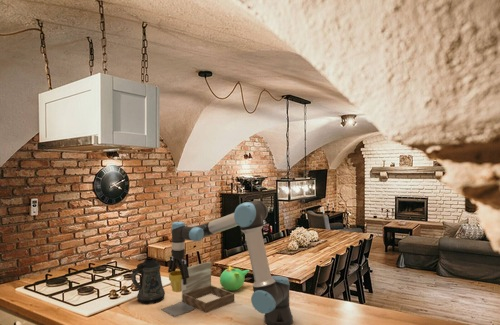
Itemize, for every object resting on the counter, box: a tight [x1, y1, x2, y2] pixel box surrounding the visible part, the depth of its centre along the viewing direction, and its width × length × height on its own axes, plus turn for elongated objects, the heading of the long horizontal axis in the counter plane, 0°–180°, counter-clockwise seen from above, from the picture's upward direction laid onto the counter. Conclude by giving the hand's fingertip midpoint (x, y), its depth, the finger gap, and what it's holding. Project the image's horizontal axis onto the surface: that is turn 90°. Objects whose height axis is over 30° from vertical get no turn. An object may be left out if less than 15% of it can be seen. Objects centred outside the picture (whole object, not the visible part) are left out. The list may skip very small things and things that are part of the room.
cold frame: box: [181, 261, 235, 314], centre depth 208 cm, size 23×22×20 cm
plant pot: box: [168, 269, 182, 293], centre depth 197 cm, size 10×10×10 cm
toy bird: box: [219, 266, 250, 291], centre depth 229 cm, size 18×17×15 cm
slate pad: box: [160, 301, 197, 318], centre depth 197 cm, size 14×14×1 cm
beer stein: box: [130, 257, 166, 305], centre depth 212 cm, size 16×19×25 cm
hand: (178, 287), depth 197 cm, fingers closed on plant pot, 10 cm apart
